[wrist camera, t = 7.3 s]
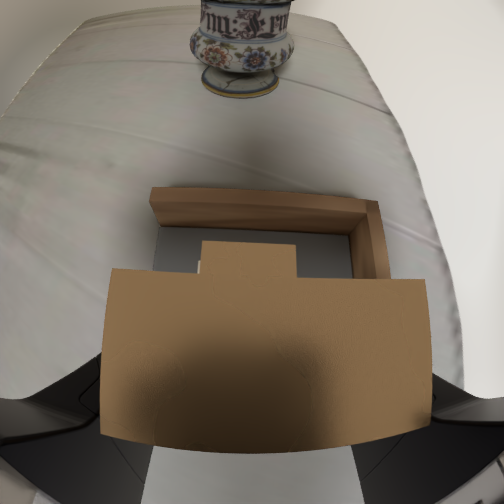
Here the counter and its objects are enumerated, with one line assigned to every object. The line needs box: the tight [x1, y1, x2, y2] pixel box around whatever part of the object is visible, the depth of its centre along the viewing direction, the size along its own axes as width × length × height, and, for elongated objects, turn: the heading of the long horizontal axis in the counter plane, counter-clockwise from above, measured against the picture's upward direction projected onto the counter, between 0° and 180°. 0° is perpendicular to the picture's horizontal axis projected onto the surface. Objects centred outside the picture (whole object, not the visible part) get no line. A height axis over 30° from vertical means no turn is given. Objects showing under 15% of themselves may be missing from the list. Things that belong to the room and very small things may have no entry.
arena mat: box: [153, 227, 352, 279], centre depth 20 cm, size 14×16×1 cm
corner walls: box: [149, 187, 391, 279], centre depth 19 cm, size 15×17×4 cm
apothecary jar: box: [190, 0, 294, 98], centre depth 23 cm, size 12×12×18 cm
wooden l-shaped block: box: [100, 241, 432, 454], centre depth 10 cm, size 8×5×12 cm, turn 179°
